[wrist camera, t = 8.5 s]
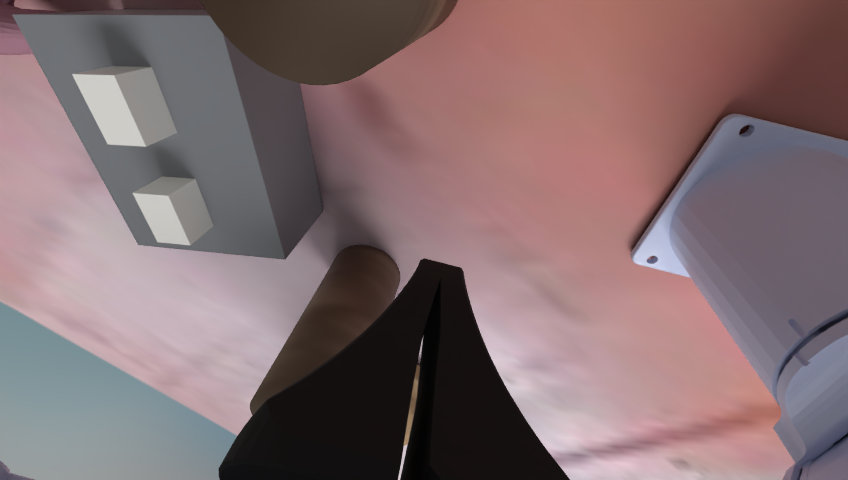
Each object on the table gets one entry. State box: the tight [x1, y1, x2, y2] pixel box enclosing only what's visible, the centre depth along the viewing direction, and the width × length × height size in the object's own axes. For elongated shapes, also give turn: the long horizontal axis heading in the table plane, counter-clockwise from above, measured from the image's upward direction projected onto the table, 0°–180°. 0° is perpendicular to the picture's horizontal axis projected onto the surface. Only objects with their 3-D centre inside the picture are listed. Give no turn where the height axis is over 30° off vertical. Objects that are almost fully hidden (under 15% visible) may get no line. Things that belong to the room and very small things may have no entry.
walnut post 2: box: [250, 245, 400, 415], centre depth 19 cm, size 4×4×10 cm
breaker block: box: [12, 9, 323, 259], centre depth 17 cm, size 8×10×7 cm
